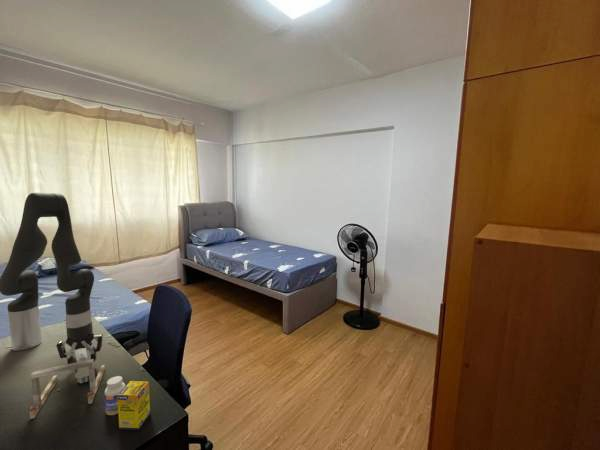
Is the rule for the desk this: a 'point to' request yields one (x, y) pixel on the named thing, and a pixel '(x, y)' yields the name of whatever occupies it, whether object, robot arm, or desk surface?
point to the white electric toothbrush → (82, 373)
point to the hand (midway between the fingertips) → (82, 363)
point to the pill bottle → (113, 394)
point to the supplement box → (133, 405)
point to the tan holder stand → (41, 398)
